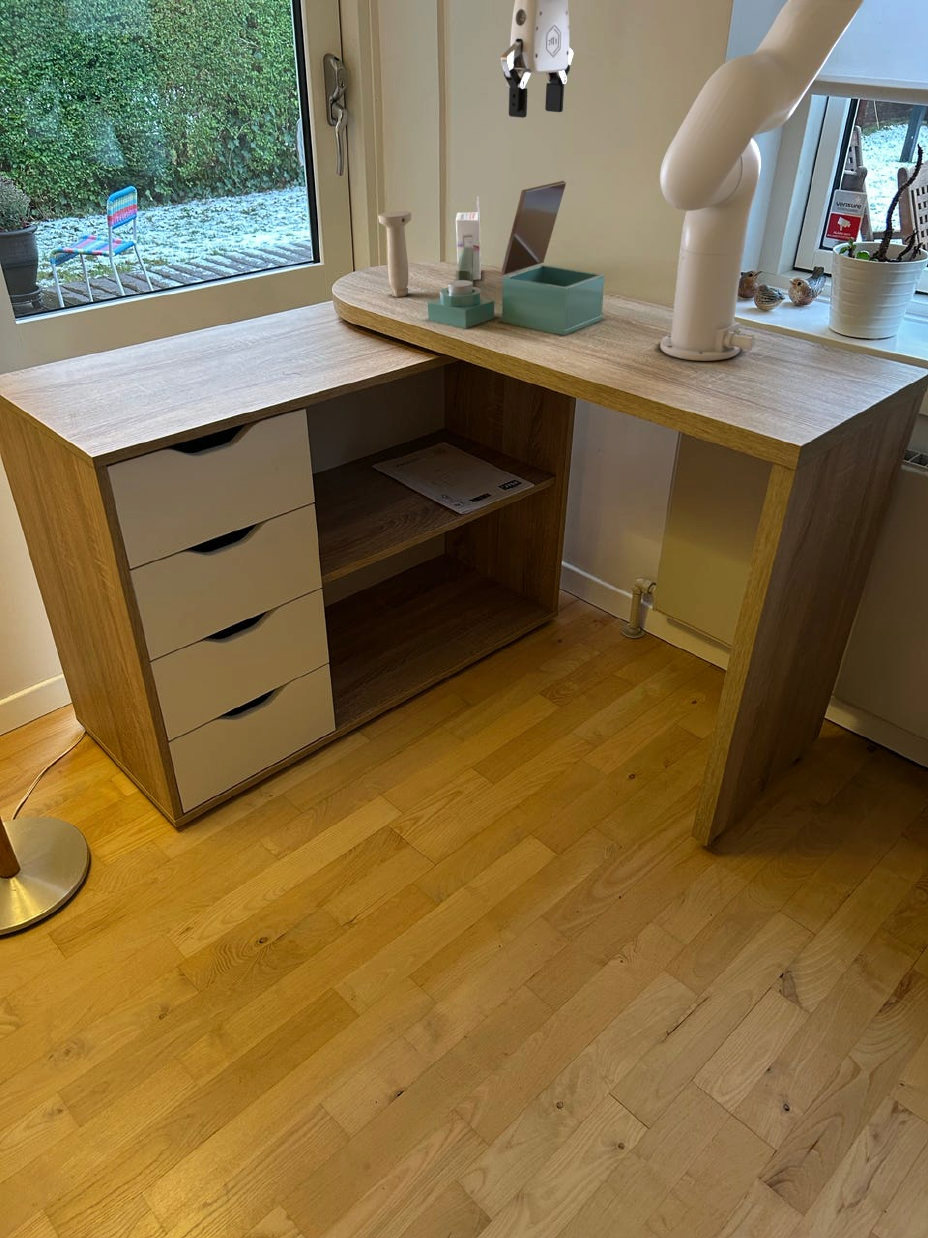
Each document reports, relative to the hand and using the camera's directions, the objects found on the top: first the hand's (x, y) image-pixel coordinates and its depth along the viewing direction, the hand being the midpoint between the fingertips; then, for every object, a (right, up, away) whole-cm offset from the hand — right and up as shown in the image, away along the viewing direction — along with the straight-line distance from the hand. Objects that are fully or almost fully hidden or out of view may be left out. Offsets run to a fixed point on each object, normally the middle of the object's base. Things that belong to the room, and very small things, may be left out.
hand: (536, 113), depth 148 cm
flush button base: (-12, -28, +18) cm, 35 cm away
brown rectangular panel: (+1, -15, +9) cm, 17 cm away
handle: (-25, -18, +33) cm, 45 cm away
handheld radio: (-11, -16, +35) cm, 40 cm away
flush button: (-12, -24, +15) cm, 31 cm away
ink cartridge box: (-11, -10, +45) cm, 47 cm away
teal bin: (+4, -29, +15) cm, 33 cm away
